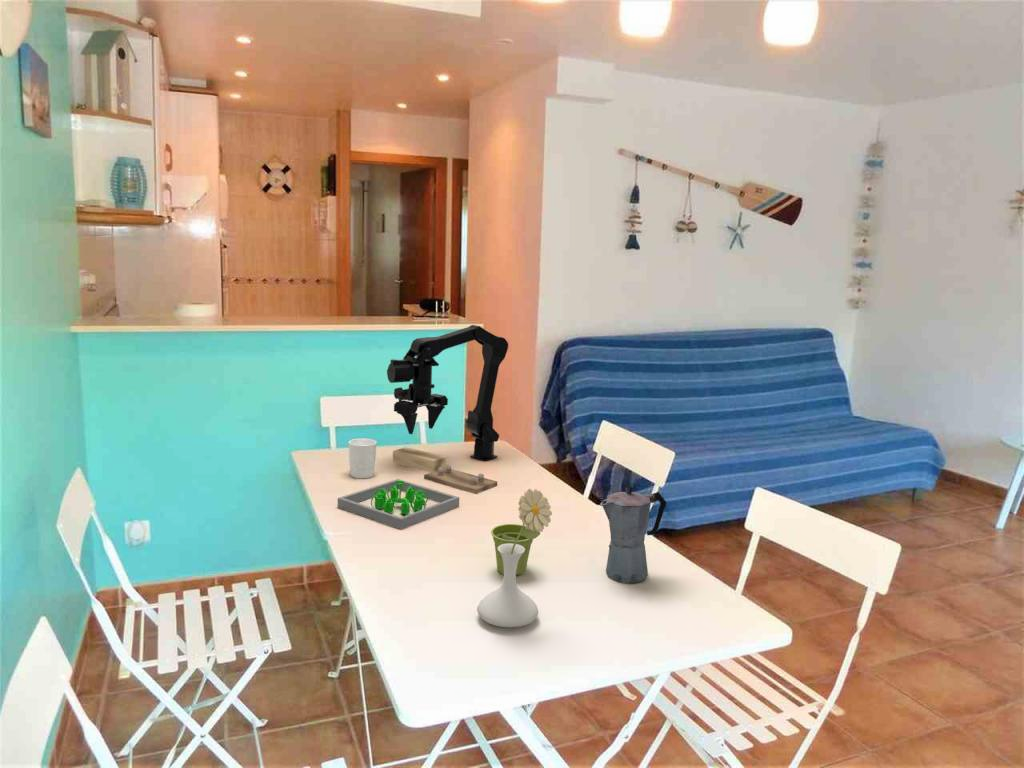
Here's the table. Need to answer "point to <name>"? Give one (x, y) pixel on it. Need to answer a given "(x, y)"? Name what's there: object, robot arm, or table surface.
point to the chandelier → (399, 499)
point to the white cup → (362, 457)
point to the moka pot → (629, 533)
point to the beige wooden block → (419, 459)
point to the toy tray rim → (353, 506)
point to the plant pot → (511, 531)
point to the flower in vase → (508, 599)
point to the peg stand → (460, 480)
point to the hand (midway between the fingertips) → (420, 431)
